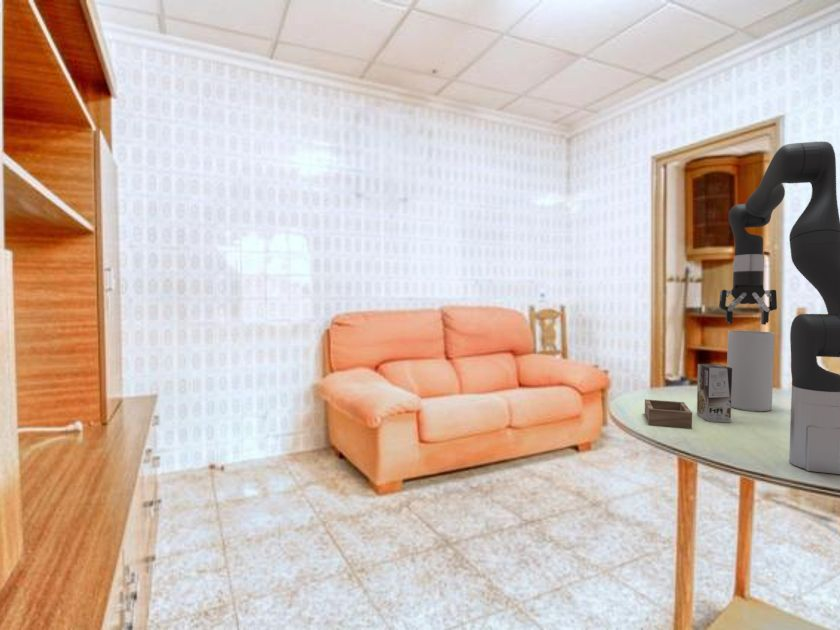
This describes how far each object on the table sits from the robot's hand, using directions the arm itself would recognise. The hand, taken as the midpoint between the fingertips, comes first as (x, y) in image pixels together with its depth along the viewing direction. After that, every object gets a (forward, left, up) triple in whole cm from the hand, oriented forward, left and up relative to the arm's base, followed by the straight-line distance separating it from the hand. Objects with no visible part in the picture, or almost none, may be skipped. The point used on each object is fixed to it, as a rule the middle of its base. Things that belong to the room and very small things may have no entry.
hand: (746, 324), depth 143 cm
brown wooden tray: (-13, +23, -28) cm, 39 cm away
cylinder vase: (+15, -5, -29) cm, 33 cm away
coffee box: (-5, +9, -29) cm, 30 cm away
